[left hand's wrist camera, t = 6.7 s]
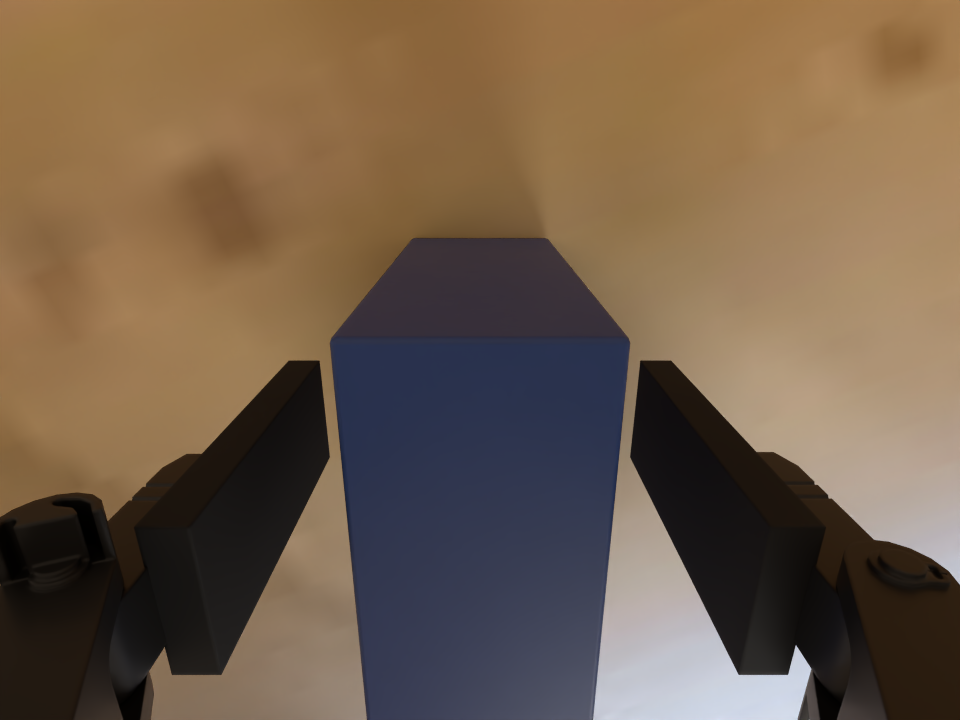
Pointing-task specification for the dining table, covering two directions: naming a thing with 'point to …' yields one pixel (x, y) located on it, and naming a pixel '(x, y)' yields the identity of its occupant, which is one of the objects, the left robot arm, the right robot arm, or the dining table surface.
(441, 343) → the block
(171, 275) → the dining table surface
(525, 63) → the dining table surface
